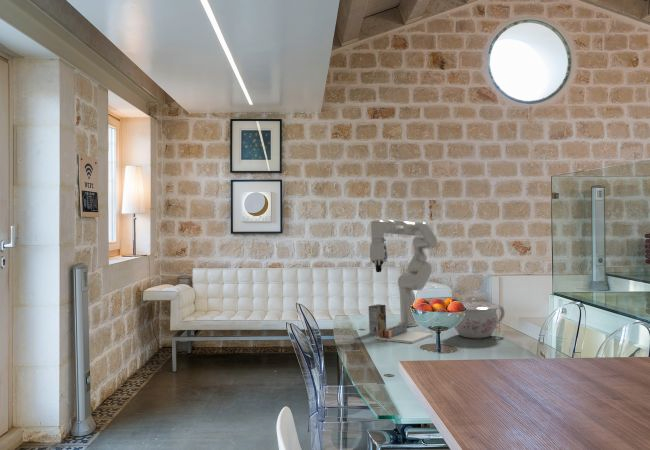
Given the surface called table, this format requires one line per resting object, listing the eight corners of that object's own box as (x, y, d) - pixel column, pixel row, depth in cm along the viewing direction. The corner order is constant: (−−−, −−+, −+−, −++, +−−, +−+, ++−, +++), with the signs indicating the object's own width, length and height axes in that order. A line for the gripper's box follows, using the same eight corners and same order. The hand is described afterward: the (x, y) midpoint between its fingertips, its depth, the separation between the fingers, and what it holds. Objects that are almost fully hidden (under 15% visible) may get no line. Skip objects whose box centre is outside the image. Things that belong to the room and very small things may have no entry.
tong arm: (401, 331, 311) (400, 324, 311) (405, 332, 309) (405, 325, 309) (384, 337, 295) (384, 330, 295) (388, 338, 294) (388, 330, 294)
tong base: (399, 330, 315) (399, 321, 315) (407, 331, 312) (407, 322, 312) (379, 337, 298) (378, 328, 298) (387, 338, 294) (387, 328, 294)
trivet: (398, 332, 318) (398, 329, 318) (432, 335, 304) (432, 333, 304) (376, 339, 299) (376, 337, 299) (412, 343, 285) (411, 341, 285)
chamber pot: (443, 339, 294) (442, 301, 294) (456, 330, 318) (455, 294, 318) (497, 343, 281) (496, 303, 281) (506, 333, 305) (505, 296, 305)
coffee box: (377, 331, 322) (376, 304, 323) (386, 332, 319) (385, 304, 319) (369, 333, 315) (368, 306, 315) (378, 334, 311) (377, 306, 311)
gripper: (391, 240, 322) (392, 271, 321) (370, 240, 331) (371, 271, 331) (385, 241, 316) (386, 272, 316) (363, 241, 325) (364, 272, 325)
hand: (378, 271), depth 323 cm, fingers closed
